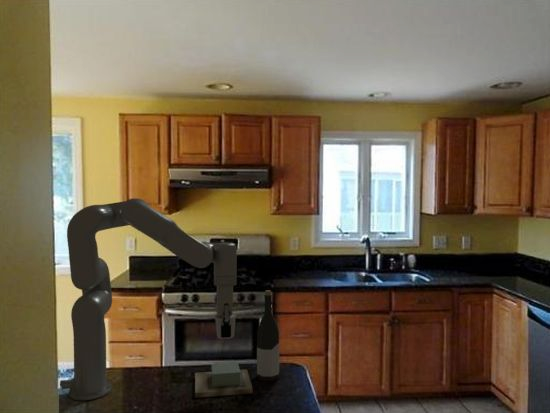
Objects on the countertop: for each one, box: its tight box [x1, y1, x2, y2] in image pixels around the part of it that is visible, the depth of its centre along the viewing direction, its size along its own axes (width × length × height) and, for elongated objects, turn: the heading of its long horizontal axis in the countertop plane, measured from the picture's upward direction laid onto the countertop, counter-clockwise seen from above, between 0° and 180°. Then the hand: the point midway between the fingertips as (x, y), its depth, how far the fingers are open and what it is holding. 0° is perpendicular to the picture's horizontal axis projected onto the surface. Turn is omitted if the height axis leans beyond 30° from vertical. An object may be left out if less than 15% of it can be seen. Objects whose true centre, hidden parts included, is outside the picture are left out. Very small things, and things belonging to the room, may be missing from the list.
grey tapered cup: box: [214, 313, 237, 340], centre depth 145 cm, size 7×7×7 cm
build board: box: [194, 368, 253, 398], centre depth 145 cm, size 18×16×2 cm
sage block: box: [211, 361, 241, 386], centre depth 145 cm, size 9×9×4 cm
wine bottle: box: [256, 289, 280, 382], centre depth 152 cm, size 8×8×30 cm
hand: (225, 333), depth 145 cm, fingers closed on grey tapered cup, 5 cm apart
